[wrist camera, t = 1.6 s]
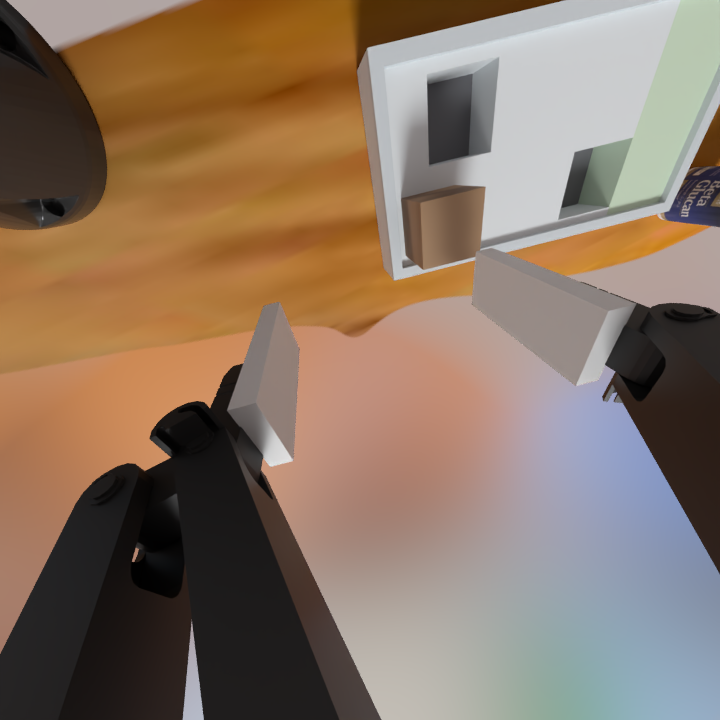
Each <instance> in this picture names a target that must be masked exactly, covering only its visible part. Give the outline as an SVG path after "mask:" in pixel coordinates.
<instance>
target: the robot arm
mask: <svg viewBox="0 0 720 720" xmlns="http://www.w3.org/2000/svg"><path fill="white" fill-rule="evenodd" d="M106 179H107V162H106V154H105V149H104V144H103V140H102V137H101V134H100V131H99V128H98V125H97V123H96V120H95V118H94V115H93V113H92V111H91V109H90V107H89V105H88V103H87V101H86V99H85V97H84V95H83V93H82V92H81V90H80V88H79V87H78V85H77V83H76V82H75V80H74V78H73V77H72V75H71V74H70V72H69V71H68V69H67V68H66V67H65V65H64V64H63V62H62V61H61V60H60V58H59V57H58V56H57V55H56V53H55V52H54V51H53V49H52V48H51V47H50V46H49V44H48V43H47V42H46V41H45V40H44V39H43V37H42V36H41V35H40V34H39V33H38V32H37V31H36V30H35V29H34V28H33V26H32V25H31V24H30V23H29V22H28V21H27V20H26V19H25V18H24V17H23V16H22V15H21V14H20V13H19V12H18V11H17V10H16V9H15V8H14V7H12V5H10V4H9V3H8V2H7V1H6V0H0V227H1V228H7V229H17V230H39V229H47V228H52V227H57V226H63V225H67V224H71V223H74V222H77V221H79V220H81V219H83V218H84V217H86V216H87V215H88V214H90V213H91V212H92V211H93V210H94V209H95V207H96V206H97V205H98V203H99V202H100V200H101V198H102V195H103V193H104V190H105V185H106ZM472 305H473V306H474V307H476V308H477V309H478V310H479V311H481V312H482V313H483V314H485V315H486V316H487V317H488V318H490V319H491V320H492V321H494V322H495V323H496V324H497V325H498V326H500V327H501V328H502V329H504V330H505V331H506V332H507V333H509V334H510V335H511V336H513V337H514V338H515V339H516V340H518V341H519V342H520V343H521V344H523V345H524V346H525V347H526V348H528V349H529V350H530V351H532V352H533V353H534V354H535V355H537V356H538V357H539V358H541V359H542V360H543V361H544V362H546V363H547V364H548V365H550V366H551V367H552V368H553V369H555V370H556V371H557V372H558V373H560V374H561V375H562V376H563V377H565V378H566V379H567V380H569V381H570V382H571V383H572V384H574V385H575V386H578V385H582V384H586V383H590V382H593V381H597V380H598V379H599V377H600V375H601V373H602V371H603V369H604V367H605V365H606V366H608V367H609V368H611V369H613V370H614V371H616V372H615V374H614V376H613V378H612V379H611V382H610V383H609V385H608V387H607V389H606V391H605V393H604V395H603V396H602V397H603V401H608V400H609V398H610V396H611V395H612V393H615V392H617V393H618V394H617V395H616V397H615V399H614V402H620V403H623V404H624V406H625V407H626V409H627V411H628V413H629V415H630V416H631V418H632V420H633V422H634V423H635V425H636V427H637V429H638V430H639V432H640V434H641V436H642V437H643V439H644V441H645V443H646V445H647V446H648V448H649V450H650V452H651V453H652V455H653V457H654V459H655V460H656V462H657V464H658V466H659V467H660V469H661V471H662V473H663V475H664V476H665V478H666V480H667V482H668V483H669V485H670V487H671V489H672V490H673V492H674V494H675V496H676V497H677V499H678V501H679V503H680V504H681V506H682V508H683V510H684V512H685V513H686V515H687V517H688V518H689V520H690V522H691V524H692V526H693V527H694V529H695V531H696V533H697V534H698V536H699V538H700V539H701V542H702V543H703V545H704V547H705V549H706V550H707V552H708V554H709V556H710V557H711V559H712V561H713V562H714V564H715V566H716V568H717V570H718V572H719V573H720V314H719V313H717V312H715V311H714V310H712V309H710V308H706V307H700V306H696V305H690V304H682V303H666V304H659V305H656V306H653V307H651V308H649V307H646V306H644V305H641V304H638V303H636V302H633V301H630V300H628V299H625V298H623V297H620V296H618V295H615V294H612V293H608V292H607V291H605V290H602V289H597V288H596V287H594V286H591V285H589V284H586V283H583V282H579V281H576V280H574V279H571V278H569V277H566V276H563V275H561V274H558V273H556V272H553V271H551V270H548V269H545V268H543V267H540V266H538V265H535V264H533V263H530V262H527V261H525V260H522V259H520V258H517V257H515V256H512V255H509V254H507V253H504V252H502V251H499V250H496V249H494V248H488V249H484V250H480V251H476V257H475V270H474V283H473V296H472ZM299 350H300V349H299V347H298V344H297V342H296V340H295V337H294V335H293V332H292V330H291V328H290V325H289V323H288V320H287V318H286V316H285V313H284V311H283V309H282V306H281V304H280V302H277V303H273V304H269V305H265V306H263V309H262V312H261V315H260V318H259V321H258V324H257V326H256V329H255V332H254V335H253V338H252V341H251V344H250V346H249V349H248V352H247V355H246V358H245V361H244V363H243V364H240V365H236V366H233V367H232V368H231V369H230V370H229V371H228V372H227V373H226V375H225V376H224V377H223V379H222V382H221V384H220V388H219V389H218V391H217V394H216V397H215V398H214V401H213V403H212V405H211V408H209V407H208V406H207V405H206V404H205V403H204V402H199V401H196V402H191V403H187V404H184V405H182V406H180V407H177V408H176V409H174V410H173V411H171V412H170V413H168V414H167V415H165V416H164V417H163V418H162V419H161V420H160V421H159V422H158V423H157V424H156V426H155V427H154V429H153V430H152V432H151V435H150V440H151V441H153V442H154V443H155V444H156V445H157V446H158V447H160V448H161V449H162V450H163V451H164V452H165V453H167V454H168V455H169V456H170V457H171V458H170V459H168V460H166V461H164V462H162V463H160V464H158V465H156V466H154V467H152V468H150V469H148V470H146V471H144V470H143V469H141V468H140V467H139V466H137V465H136V464H129V463H127V464H124V465H120V466H117V467H115V468H114V469H112V470H110V471H108V472H106V473H105V474H103V475H102V476H100V477H99V478H98V479H96V480H95V481H94V482H93V483H92V484H91V485H90V486H89V487H88V488H87V489H86V490H85V491H84V492H83V494H82V495H81V497H80V498H79V500H78V501H77V503H76V504H75V506H74V508H73V510H72V512H71V514H70V516H69V518H68V520H67V522H66V524H65V526H64V528H63V530H62V532H61V534H60V536H59V538H58V540H57V542H56V544H55V547H54V548H53V550H52V552H51V554H50V556H49V558H48V560H47V562H46V564H45V566H44V568H43V570H42V572H41V574H40V576H39V578H38V580H37V582H36V584H35V586H34V588H33V590H32V592H31V594H30V596H29V598H28V600H27V602H26V604H25V606H24V608H23V610H22V612H21V614H20V616H19V618H18V620H17V622H16V624H15V626H14V628H13V630H12V632H11V634H10V636H9V638H8V640H7V642H6V644H5V646H4V648H3V650H2V652H1V654H0V720H182V719H183V708H184V697H185V687H186V675H187V665H188V653H189V643H190V631H191V621H192V624H193V632H194V641H195V649H196V657H197V665H198V674H199V682H200V690H201V698H202V707H203V715H204V720H381V718H380V716H379V714H378V712H377V710H376V708H375V706H374V704H373V702H372V699H371V697H370V695H369V693H368V691H367V689H366V687H365V684H364V682H363V680H362V678H361V676H360V674H359V672H358V670H357V668H356V665H355V663H354V661H353V659H352V657H351V655H350V653H349V651H348V649H347V647H346V644H345V642H344V640H343V638H342V636H341V634H340V632H339V630H338V628H337V625H336V623H335V621H334V619H333V617H332V615H331V613H330V611H329V609H328V606H327V604H326V602H325V600H324V598H323V596H322V594H321V592H320V590H319V587H318V585H317V583H316V581H315V579H314V577H313V575H312V573H311V571H310V569H309V566H308V564H307V562H306V560H305V558H304V556H303V554H302V552H301V549H300V547H299V545H298V543H297V541H296V539H295V537H294V535H293V533H292V531H291V529H290V526H289V524H288V522H287V520H286V518H285V516H284V514H283V512H282V509H281V507H280V505H279V503H278V501H277V499H276V497H275V495H274V493H273V491H272V489H271V486H270V484H269V482H268V480H267V478H266V476H265V475H264V474H263V472H262V471H261V466H262V459H263V458H264V459H265V461H266V462H267V463H268V464H269V466H270V467H271V466H275V465H279V464H283V463H287V462H290V461H293V458H294V441H295V423H296V403H297V386H298V368H299V367H298V365H299ZM135 548H138V549H139V551H138V555H137V557H136V560H135V562H132V559H133V555H134V552H135Z"/></svg>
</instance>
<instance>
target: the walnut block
mask: <svg viewBox="0 0 720 720" xmlns="http://www.w3.org/2000/svg"><path fill="white" fill-rule="evenodd" d="M485 189H486V187H483V186H465V185H453V186H449V187H445V188H441V189H437V190H432V191H428V192H424V193H420V194H416V195H412V196H408V197H404V198H401V206H402V218H403V230H404V243H405V255H406V256H407V257H408V258H409V259H410V260H412V261H413V262H414V263H415V264H416V265H418V266H419V267H420V268H421V269H423V270H426V269H430V268H434V267H438V266H442V265H445V264H449V263H453V262H457V261H461V260H465V259H469V258H473V257H476V251H480V246H481V235H482V223H483V212H484V200H485Z"/></svg>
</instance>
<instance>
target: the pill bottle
mask: <svg viewBox="0 0 720 720" xmlns="http://www.w3.org/2000/svg"><path fill="white" fill-rule="evenodd" d="M657 216H658V217H659V218H660V219H662V220H667V221H674V222H682V223H690V224H698V225H706V226H714V227H720V166H705V167H695V168H692V169H689V170H688V172H687V174H686V176H685V178H684V180H683V183H682V185H681V187H680V189H679V191H678V193H677V195H676V197H675V199H674V202H673V204H672V206H671V208H670V210H669V211H667V212H663V213H659V214H657Z"/></svg>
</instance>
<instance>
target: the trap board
mask: <svg viewBox="0 0 720 720" xmlns="http://www.w3.org/2000/svg"><path fill="white" fill-rule="evenodd" d="M357 75H358V82H359V90H360V97H361V104H362V112H363V119H364V126H365V134H366V141H367V148H368V156H369V163H370V170H371V178H372V185H373V192H374V200H375V207H376V214H377V222H378V229H379V236H380V244H381V251H382V258H383V266H384V269H385V270H386V271H387V272H388V274H389V275H390V276H391V277H392V279H393V280H394V281H395V280H399V279H403V278H407V277H411V276H414V275H418V274H422V273H426V272H430V271H434V270H438V269H442V268H446V267H450V266H454V265H458V264H462V263H466V262H470V261H474V260H475V257H473V258H469V259H465V260H461V261H457V262H453V263H449V264H445V265H442V266H438V267H434V268H430V269H426V270H423V269H421V268H420V267H419V266H418V265H416V264H415V263H414V262H413V261H412V260H410V259H409V258H408V257H407V256H406V255H405V243H404V230H403V218H402V206H401V198H404V197H408V196H412V195H416V194H420V193H424V192H428V191H432V190H437V189H441V188H445V187H449V186H453V185H465V186H483V187H486V189H485V200H484V212H483V223H482V235H481V246H480V250H484V249H488V248H494V249H496V250H499V251H502V252H504V253H505V252H509V251H513V250H517V249H521V248H525V247H529V246H533V245H537V244H541V243H545V242H549V241H553V240H557V239H561V238H565V237H568V236H572V235H576V234H580V233H584V232H588V231H592V230H596V229H600V228H604V227H608V226H612V225H616V224H620V223H624V222H628V221H632V220H636V219H640V218H643V217H647V216H651V215H655V214H659V213H663V212H667V211H669V210H670V208H671V206H672V204H673V202H674V199H675V197H676V195H677V193H678V191H679V189H680V187H681V185H682V183H683V180H684V178H685V176H686V174H687V172H688V170H689V168H690V166H691V164H692V161H693V159H694V157H695V155H696V153H697V151H698V149H699V147H700V144H701V142H702V140H703V138H704V136H705V134H706V132H707V130H708V128H709V125H710V123H711V121H712V119H713V117H714V115H715V113H716V111H717V109H718V106H719V104H720V0H565V1H560V2H556V3H552V4H548V5H544V6H540V7H535V8H531V9H527V10H523V11H519V12H515V13H510V14H506V15H502V16H498V17H494V18H490V19H485V20H481V21H477V22H473V23H469V24H465V25H460V26H456V27H452V28H448V29H444V30H440V31H435V32H431V33H427V34H423V35H419V36H415V37H410V38H406V39H402V40H398V41H394V42H390V43H385V44H381V45H377V46H373V47H369V48H367V50H366V52H365V54H364V56H363V59H362V61H361V63H360V65H359V68H358V70H357Z"/></svg>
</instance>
